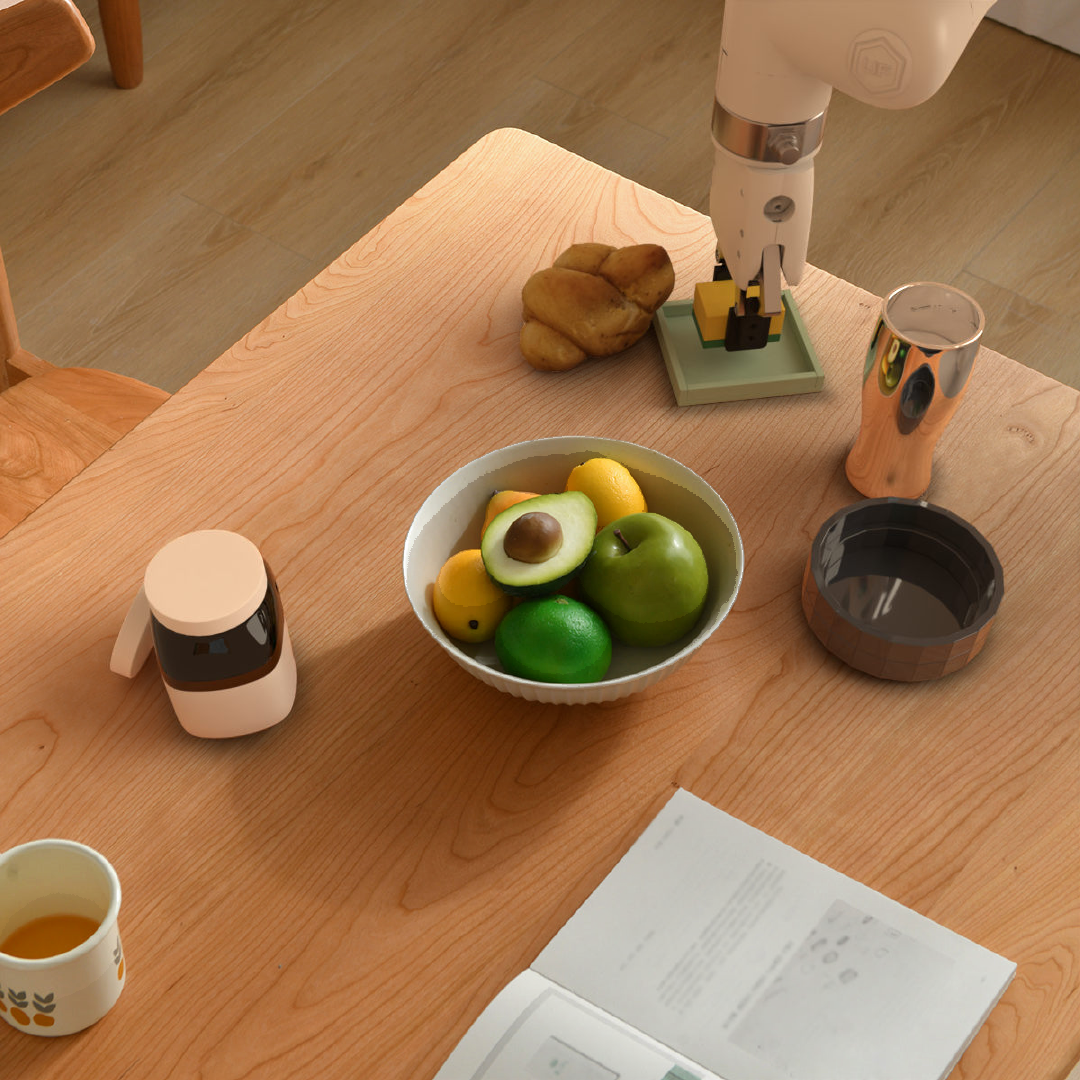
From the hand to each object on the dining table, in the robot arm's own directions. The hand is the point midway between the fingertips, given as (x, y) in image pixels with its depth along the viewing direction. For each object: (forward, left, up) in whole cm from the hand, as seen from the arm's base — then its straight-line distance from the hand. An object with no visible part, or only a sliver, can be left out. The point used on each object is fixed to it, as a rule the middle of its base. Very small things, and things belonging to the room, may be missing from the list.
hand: (737, 324), depth 104 cm
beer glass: (-8, +14, -3) cm, 17 cm away
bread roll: (+11, -4, -3) cm, 12 cm away
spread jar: (+40, +25, -3) cm, 48 cm away
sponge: (0, 0, 0) cm, 0 cm away
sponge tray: (0, 0, -3) cm, 3 cm away
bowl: (-5, +26, -3) cm, 27 cm away
